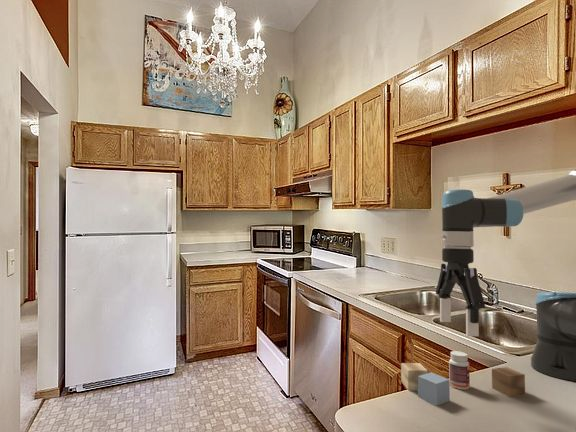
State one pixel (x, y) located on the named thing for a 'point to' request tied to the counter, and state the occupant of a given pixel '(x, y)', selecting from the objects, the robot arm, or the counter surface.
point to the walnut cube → (508, 381)
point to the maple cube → (411, 374)
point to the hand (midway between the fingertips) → (457, 328)
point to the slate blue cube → (433, 388)
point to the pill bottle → (459, 370)
